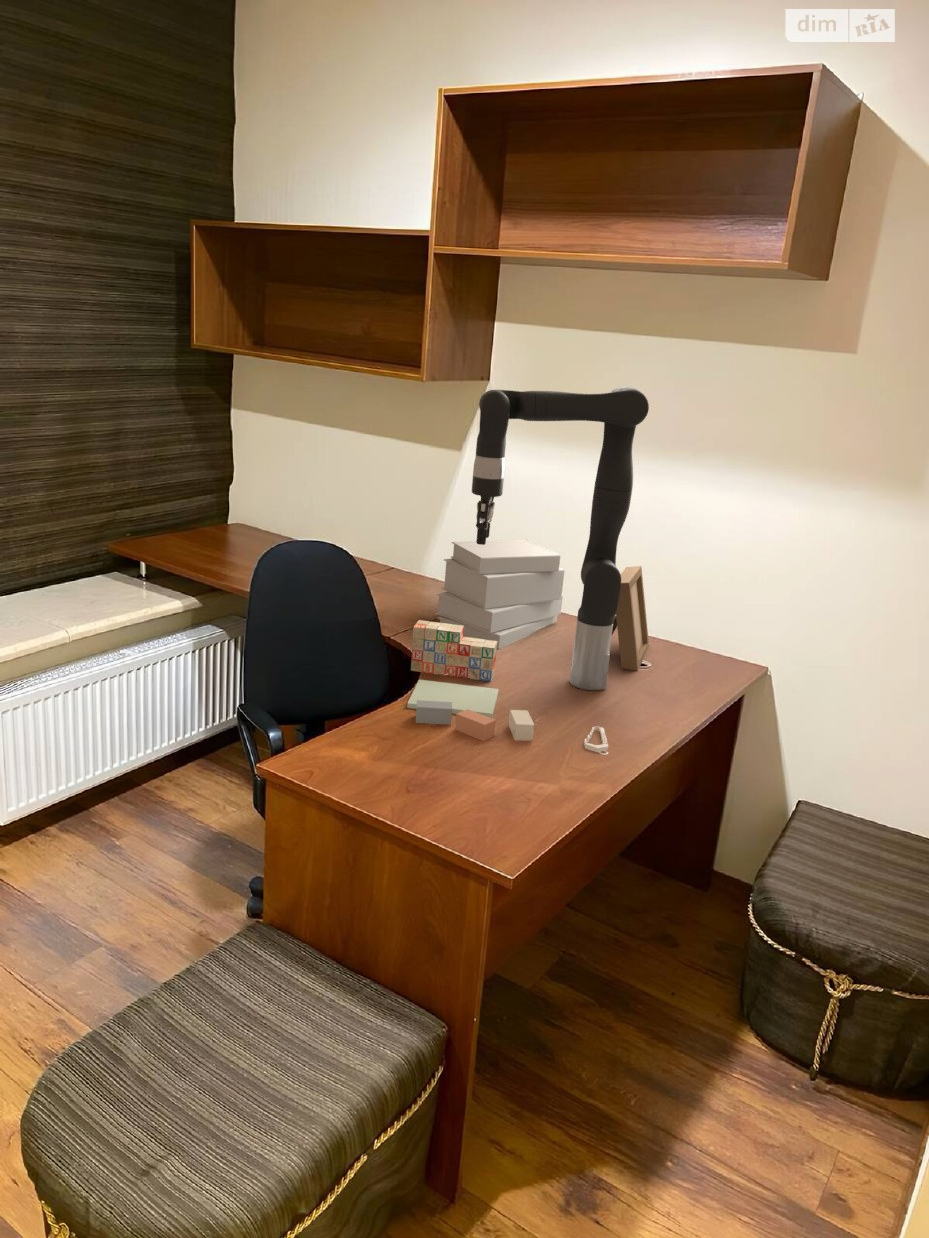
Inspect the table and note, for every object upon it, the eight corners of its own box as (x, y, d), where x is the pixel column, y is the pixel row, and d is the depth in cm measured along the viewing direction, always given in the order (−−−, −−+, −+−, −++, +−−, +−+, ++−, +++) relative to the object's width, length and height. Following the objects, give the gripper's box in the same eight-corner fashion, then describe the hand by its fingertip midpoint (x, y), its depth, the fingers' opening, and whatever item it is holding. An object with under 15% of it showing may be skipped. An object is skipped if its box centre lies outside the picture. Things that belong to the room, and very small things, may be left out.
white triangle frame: (581, 730, 215) (581, 723, 214) (602, 732, 215) (603, 725, 214) (585, 754, 202) (586, 747, 202) (608, 757, 202) (609, 749, 202)
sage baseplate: (498, 693, 231) (498, 689, 231) (492, 718, 216) (492, 713, 216) (418, 683, 233) (419, 679, 233) (407, 707, 218) (407, 703, 217)
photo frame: (648, 651, 273) (661, 569, 265) (637, 674, 253) (650, 586, 245) (599, 642, 277) (609, 561, 270) (583, 664, 257) (594, 577, 250)
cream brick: (532, 741, 206) (534, 724, 205) (514, 740, 206) (516, 724, 204) (525, 726, 214) (527, 710, 212) (508, 726, 213) (510, 709, 212)
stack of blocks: (494, 674, 244) (499, 630, 241) (490, 682, 238) (495, 637, 235) (415, 663, 248) (418, 619, 244) (409, 671, 242) (412, 625, 238)
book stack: (569, 630, 286) (579, 549, 279) (508, 657, 259) (517, 567, 251) (488, 608, 302) (495, 530, 295) (422, 630, 274) (428, 545, 267)
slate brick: (450, 718, 215) (451, 702, 213) (450, 725, 211) (452, 709, 210) (415, 716, 214) (416, 700, 213) (415, 723, 210) (416, 706, 209)
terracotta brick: (494, 736, 207) (495, 719, 206) (483, 741, 204) (484, 724, 203) (466, 725, 212) (467, 709, 210) (454, 730, 208) (456, 713, 207)
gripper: (501, 480, 218) (495, 548, 223) (506, 472, 231) (500, 536, 236) (469, 477, 219) (464, 545, 223) (476, 469, 232) (471, 533, 237)
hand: (482, 540), depth 230 cm, fingers open, 8 cm apart
